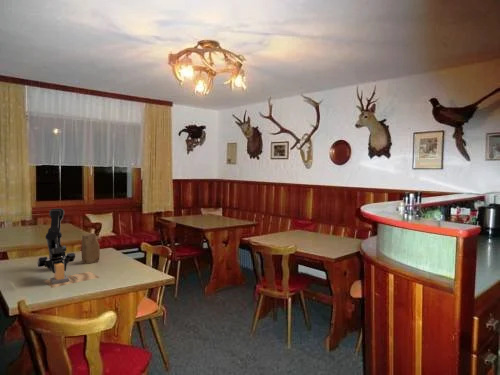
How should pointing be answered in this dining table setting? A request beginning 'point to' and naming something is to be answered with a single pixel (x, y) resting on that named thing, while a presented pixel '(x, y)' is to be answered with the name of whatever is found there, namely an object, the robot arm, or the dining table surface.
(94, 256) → the bread loaf
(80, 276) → the board
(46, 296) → the dining table surface
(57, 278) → the sanding block
